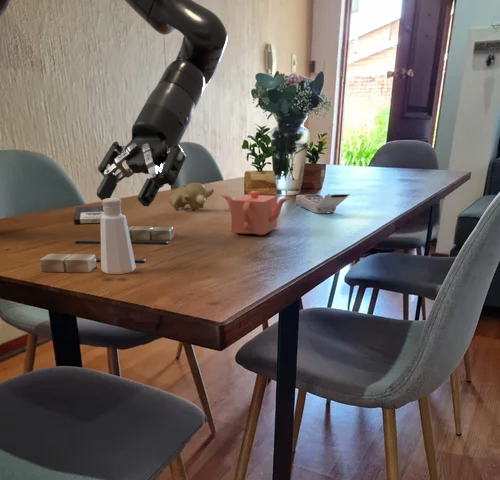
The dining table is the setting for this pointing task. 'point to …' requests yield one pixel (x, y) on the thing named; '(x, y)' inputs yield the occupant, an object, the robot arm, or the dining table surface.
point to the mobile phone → (320, 202)
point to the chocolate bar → (88, 214)
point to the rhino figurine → (190, 196)
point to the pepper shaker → (115, 240)
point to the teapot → (254, 213)
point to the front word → (72, 262)
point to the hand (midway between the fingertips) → (121, 200)
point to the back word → (144, 235)
